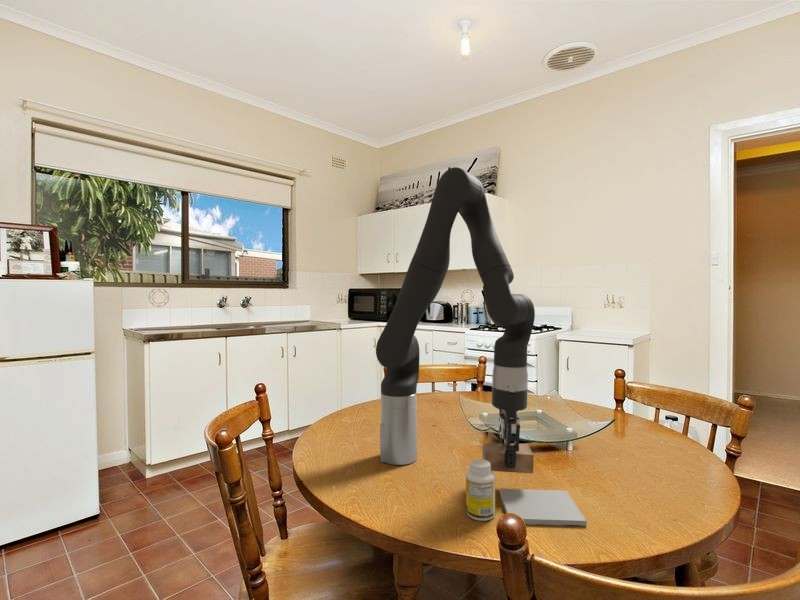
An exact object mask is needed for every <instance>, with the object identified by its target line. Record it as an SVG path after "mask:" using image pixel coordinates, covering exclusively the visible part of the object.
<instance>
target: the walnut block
mask: <svg viewBox="0 0 800 600" xmlns="http://www.w3.org/2000/svg"><path fill="white" fill-rule="evenodd" d="M509 445H514V442H513V443H512V442H511V443H509ZM504 446H505V443H501V442H490V441H482V458H481V459H483V460H487V461H489V462H490V464H491V471H492V472H502V473H503V472H504V473H505V472H506V473H517V474H518V473H520V474H534V457H535V456H534V455H535V454H534V453H533V451H532V449H531V448H530V445H529V444H527V443H519V451H516V467H515V468H506V467H505V449H504Z"/></svg>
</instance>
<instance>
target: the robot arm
mask: <svg viewBox="0 0 800 600" xmlns="http://www.w3.org/2000/svg"><path fill="white" fill-rule="evenodd" d="M431 199H432V200H431V204H430V207H429V211H428V214H427V217H426V221H425V223H424V227H423V229H422V232H421V235H420V238H419V241H418V242H417V246H416V249H415V251H414V253H413V256H412V258H411V261H410V263H409V265H408V268H407V271H406V274H405V276H404V280H403V282H402V285H401V288H400V290H399V292H398V296H397V297H396V298H397V299H396V301H395V305H394V306H393V307H394V308H393V310H392V312H391V314H390V315H389V318H388V320H387V322H386V324H385V326H384V328H383V330H382V332H381V333H380V336H379V338H378V340H377V343H376V347H375V356H376V359H377V362H378V363H379V364H380V365H381V367H383V368H385V369H386V371H385V375H384V377H383V379H382V380H381V384H380V411H381V414H380V420H381V421H380V425H379V445H380V446H379V448H380V449H379V451H380V453H379V454H380V455H379V456H380V463H385V464H388V465H395V466H403V465H405V466H406V465H409V464H413V463H415V462H416V461H417V460H418V427H417V426H418V425H417V424H418V417H417V416H418V410H417V409H418V408H417V406H418V405H417V402H418V401H417V397H418V395H417V392H418V391H417V389H418V388H417V387H418V383H419V378H420V346H419V345H420V344H419V341H418V339H417V336H416V335H415V333H416V331H417V328H418V325H419V323H420V321H421V319H422V317H423V316H424V315H425V313H426V311H427V310H428V309H429V308H430V306H431V305H432V303H433V302H434V300H435V299H436V298H437V295H438V294H439V292H440V290H441V288H442V285H443V283H444V280H445V278H446V275H447V273H448V270H449V268H450V267H449V266H450V260H451V257H450V256H451V253H450V252H451V251H450V250H451V249H450V247H451V243H450V242H451V233H452V228H453V226H454V223H455V221H456V218H457V215H458V213H459V215H460V216H461V218H462V220H463V221H464V223H465V225H466V227H467V230H468V231H469V236H470V241H471V242H470V243H471V255H472V259H473V262H474V264H475V265H474V266H475V267H476V270H477V272H478V274H479V275H478V276H479V277H480V280H481V282H482V284H483V293H484V300H485V301H484V302H485V307H486V312H487V314H488V317H489V318H490V319H491V321H492V322H493V323H494V324H495V325H496V326H498V327H502V328H504V332H503V334H502V336H500V337H499V338H497V339H496V340H495V341H494V347H493V348H494V349H493V351H494V352H493V367H492V376H491V379H492V381H491V382H492V383H491V406H492V407H493V408H495V409H497V410H498V411H499V413H498V432H499V438H500V443H505V446H504V449H505V467H506V468H515V467H516V451H519V444H520V433H521V422H520V417H518V414H517V412H519V411H524V410H526V409H527V407H528V391H529V390H528V385H529V384H528V383H529V374H528V345H529V342H530V341H531V335H532V331H533V328H534V324H535V317H536V315H535V314H536V310H535V306H534V303H533V301H532V298H530V297H529V296H527V295H525V294H523V293H511V290H510V284H511V283H512V282H513V281H514V277H515V276H514V272H513V268H512V266H511V264H510V262H509V260H508V258H507V255H506V253H505V250H504V249H503V246H502V244H501V242H500V240H499V236H498V234H497V231H496V228H495V225H494V222H493V219H492V216H491V212H490V208H489V205H488V200H487V196H486V192H485V189H484V186H483V184H482V182H481V181H480V180H479V178H477V177H476V176H475V175H473V174H472V173H470V172H468V171H467V170H465V169H463V168H460V167H458V166H456V167H455V166H454V167H451V168H448V169H447V170H446V171H445V172H444V173H442V175H441V176H440V177H439V179H438V181H437V183H436V186H435V189H434V192H433V196H432V198H431ZM512 442H513V444H514V445H509V443H512Z"/></svg>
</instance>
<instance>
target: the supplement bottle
mask: <svg viewBox="0 0 800 600" xmlns="http://www.w3.org/2000/svg"><path fill="white" fill-rule="evenodd" d="M465 498H466V499H465V501H466V502H465V505H466V507H465V508H466V514H467V515H468V517H470V518H471V519H473V520H475V521H479V522H480V521H481V522H483V521H484V522H487V521H490V520H492V519H493V518H494V517H495V515H496V476H495V473H494V471H491V464H490V462H489V461H487V460H483V459H482V458H476V459H472V460H470V462H469V469H468V470H467V471H466V474H465Z"/></svg>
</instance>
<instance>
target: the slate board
mask: <svg viewBox="0 0 800 600" xmlns="http://www.w3.org/2000/svg"><path fill="white" fill-rule="evenodd" d="M499 495H500V499H501V502H502V505H503V508H504V512H505V511H506V512H505V514H506V513H514V514H516V515H518V516H520V517H521V518H522V519H523V520H524V522H525V523H526V524H525V525H533V524H541V525H540V526H542V524H543V525H544V526H564V525H580V526H579V527H588V526H587V525H588V521H587V519H586V518H585V516H584V514H583V513H582V511H581V510H580V508H579V507H578V505H577V504H576V503H575V502H576V501H574V499H573V498H572V496H571V494H570V493H569V491H568V490H559V489H558V490H555V489H520V488H519V489H515V488H500V489H499ZM581 525H582V526H581Z"/></svg>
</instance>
